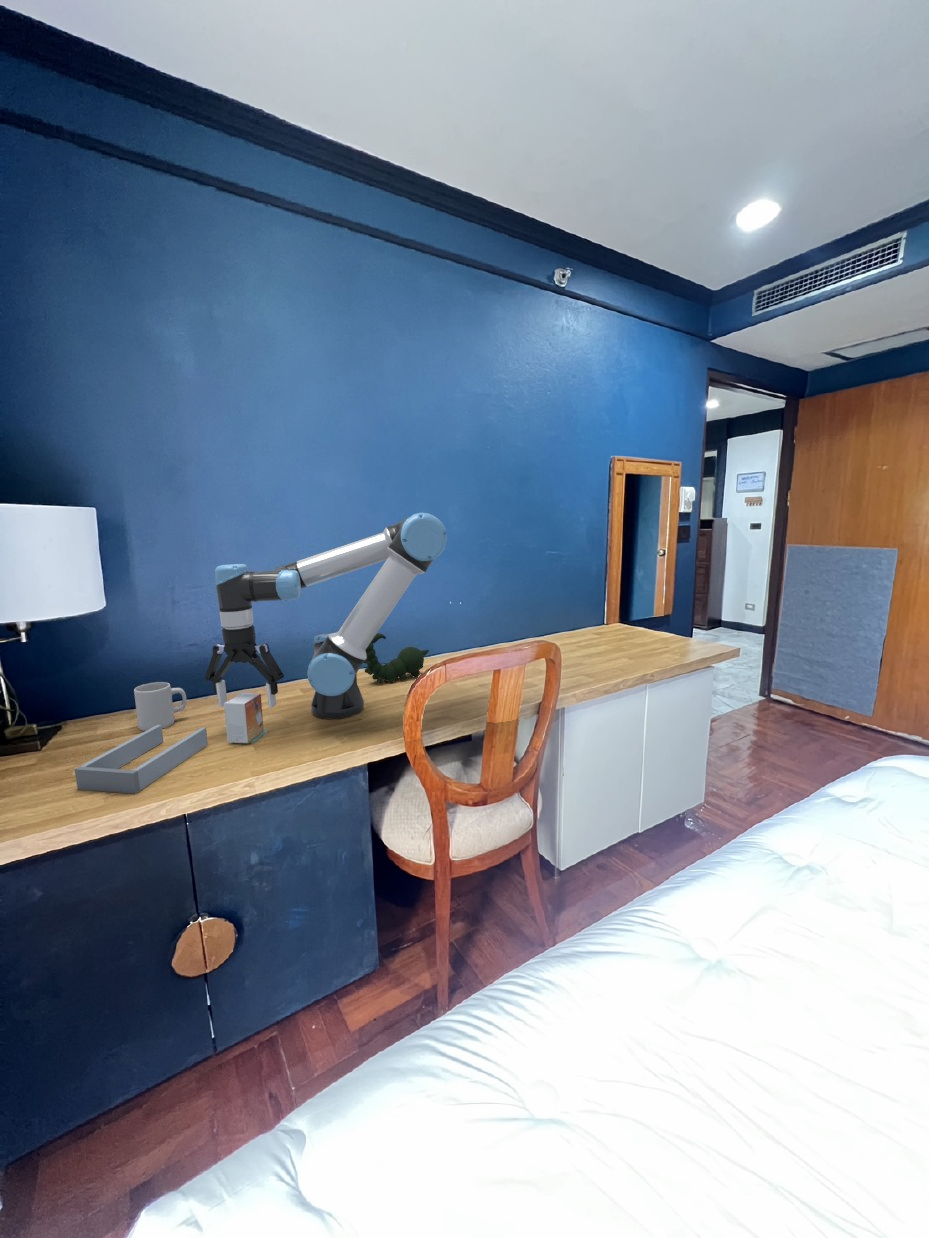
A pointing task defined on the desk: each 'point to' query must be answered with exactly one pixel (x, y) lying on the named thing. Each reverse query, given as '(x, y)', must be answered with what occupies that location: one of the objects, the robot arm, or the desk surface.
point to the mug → (156, 704)
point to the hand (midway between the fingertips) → (247, 706)
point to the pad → (258, 736)
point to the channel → (112, 779)
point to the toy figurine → (394, 663)
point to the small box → (243, 717)
